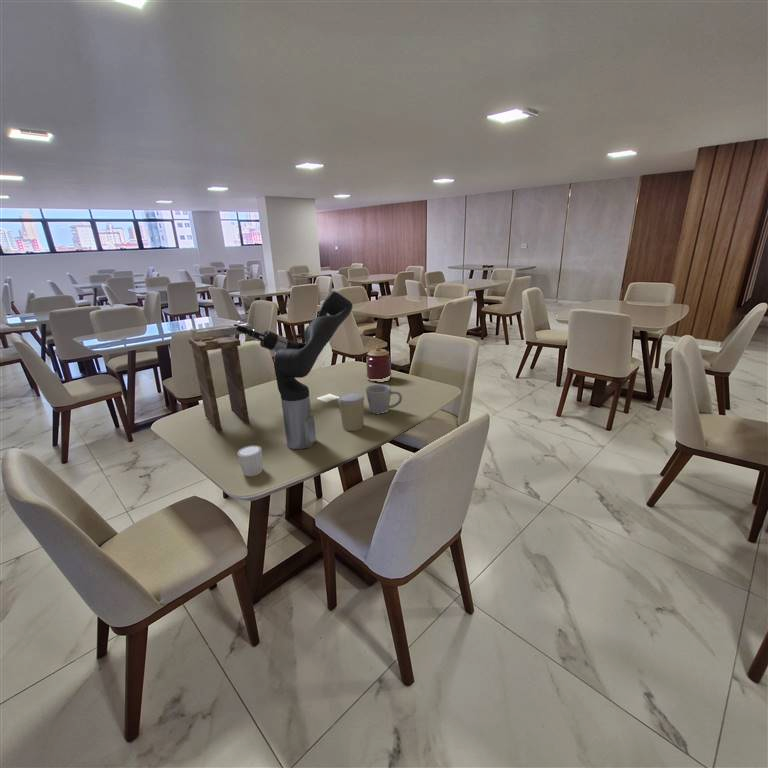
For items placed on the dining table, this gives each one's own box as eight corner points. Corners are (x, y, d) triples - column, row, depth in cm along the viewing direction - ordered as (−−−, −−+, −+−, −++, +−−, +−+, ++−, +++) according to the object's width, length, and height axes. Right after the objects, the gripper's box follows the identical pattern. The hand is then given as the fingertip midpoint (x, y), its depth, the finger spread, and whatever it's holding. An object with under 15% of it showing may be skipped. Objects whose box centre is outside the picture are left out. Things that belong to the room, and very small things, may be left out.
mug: (370, 405, 162) (369, 383, 159) (404, 407, 159) (404, 384, 156) (364, 415, 152) (362, 391, 149) (400, 417, 149) (400, 393, 146)
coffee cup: (351, 419, 148) (349, 391, 144) (370, 424, 143) (368, 395, 139) (335, 428, 141) (332, 398, 137) (354, 434, 136) (352, 403, 132)
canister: (396, 378, 198) (395, 345, 193) (379, 384, 190) (378, 350, 184) (379, 374, 207) (377, 342, 202) (361, 379, 198) (359, 347, 193)
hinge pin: (249, 331, 157) (248, 321, 156) (253, 332, 154) (251, 322, 153) (192, 339, 145) (190, 328, 144) (194, 340, 142) (192, 329, 141)
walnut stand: (238, 408, 165) (225, 331, 154) (252, 422, 149) (239, 337, 139) (203, 416, 157) (187, 335, 146) (215, 432, 141) (198, 343, 131)
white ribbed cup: (248, 480, 109) (244, 458, 107) (236, 472, 113) (232, 451, 111) (269, 470, 114) (266, 449, 112) (257, 463, 118) (253, 443, 116)
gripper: (276, 353, 157) (237, 337, 146) (265, 347, 168) (227, 333, 157) (283, 336, 157) (244, 319, 146) (271, 332, 168) (234, 316, 157)
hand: (235, 326), depth 151 cm, fingers open, 4 cm apart
